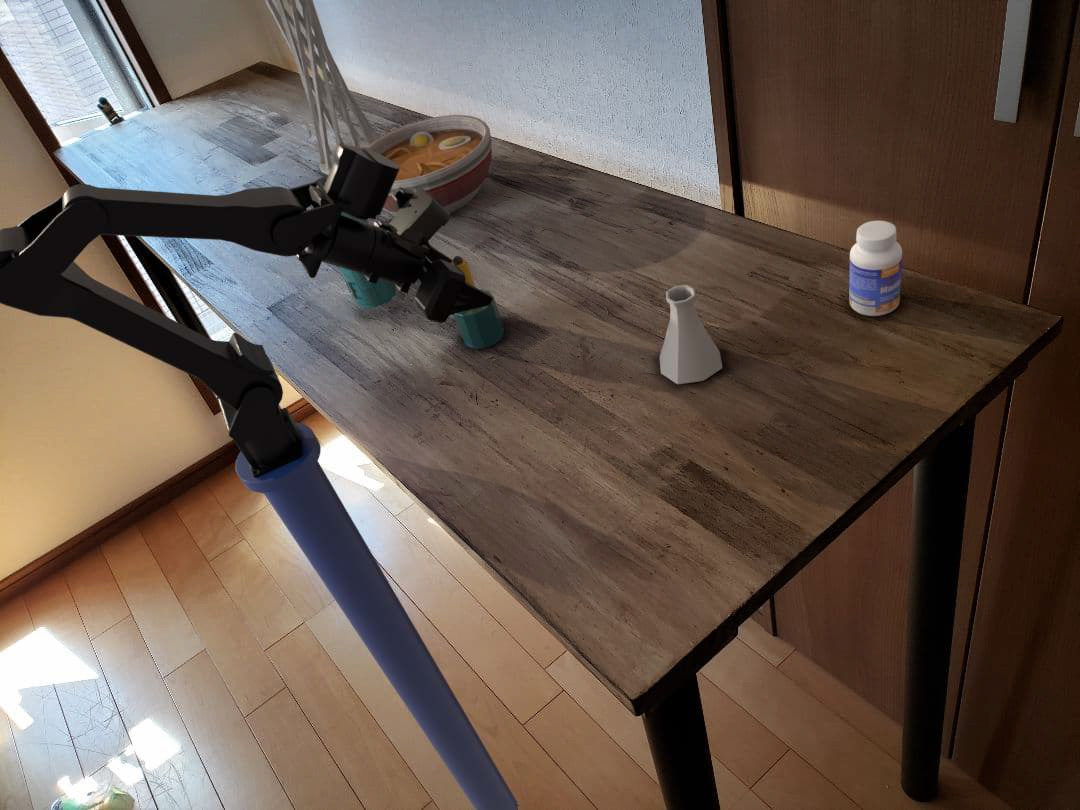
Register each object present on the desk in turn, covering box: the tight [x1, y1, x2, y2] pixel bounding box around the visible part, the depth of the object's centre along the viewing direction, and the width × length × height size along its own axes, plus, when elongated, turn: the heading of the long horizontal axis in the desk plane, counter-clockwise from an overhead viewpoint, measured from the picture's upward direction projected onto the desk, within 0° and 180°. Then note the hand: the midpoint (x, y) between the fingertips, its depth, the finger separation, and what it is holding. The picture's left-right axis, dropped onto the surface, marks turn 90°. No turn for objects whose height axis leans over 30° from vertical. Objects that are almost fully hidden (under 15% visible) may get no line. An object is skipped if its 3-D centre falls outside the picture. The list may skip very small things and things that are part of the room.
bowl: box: [367, 114, 493, 215], centre depth 138 cm, size 23×23×10 cm
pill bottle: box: [848, 220, 903, 317], centre depth 93 cm, size 5×5×10 cm
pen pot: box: [453, 289, 505, 350], centre depth 108 cm, size 5×5×6 cm
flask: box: [659, 284, 723, 385], centre depth 93 cm, size 7×7×10 cm
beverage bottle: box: [315, 175, 397, 309], centre depth 115 cm, size 6×7×20 cm
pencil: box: [451, 255, 478, 311], centre depth 105 cm, size 2×2×12 cm
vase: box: [263, 0, 380, 176], centre depth 153 cm, size 14×13×35 cm
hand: (476, 285), depth 105 cm, fingers open, 9 cm apart
